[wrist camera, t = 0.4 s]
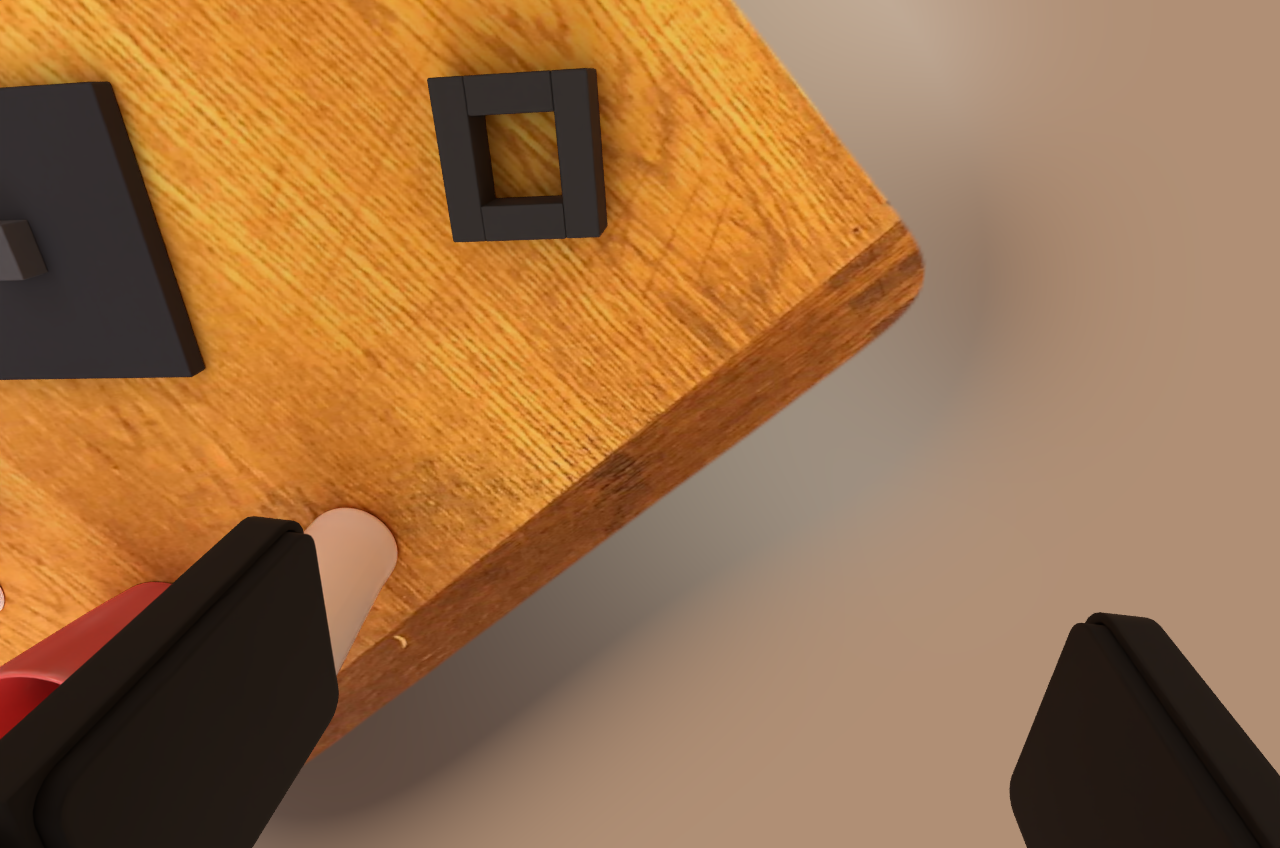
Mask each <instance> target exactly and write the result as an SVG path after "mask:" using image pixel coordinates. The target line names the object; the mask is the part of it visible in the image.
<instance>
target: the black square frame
mask: <svg viewBox="0 0 1280 848" xmlns="http://www.w3.org/2000/svg"><path fill="white" fill-rule="evenodd" d="M427 82H428V88H429V94H430V100H431V106H432V112H433V118H434V125H435V131H436V137H437V143H438V149H439V155H440V161H441V168H442V174H443V180H444V186H445V192H446V198H447V204H448V211H449V217H450V223H451V229H452V235H453V241H454V242H477V241H509V240H537V239H565V238H566V237H567V238H587V237H600V235H601V234H602V233H603V231H604V230H605V229H606V227H607V213H606V199H605V185H604V172H603V158H602V144H601V130H600V116H599V103H598V89H597V75H596V69H594V68H580V69H564V70H552V71H550V70H548V71H532V72H516V73H500V74H484V75H468V76H452V77H436V78H428V79H427ZM551 111H554V115H555V125H556V135H557V146H558V156H559V166H560V177H561V187H562V195H558V196H534V197H511V198H496V197H495V189H494V182H493V175H492V167H491V160H490V152H489V145H488V138H487V130H486V123H485V115H498V114H516V113H533V112H551Z"/></svg>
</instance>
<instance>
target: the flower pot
mask: <svg viewBox="0 0 1280 848" xmlns="http://www.w3.org/2000/svg"><path fill="white" fill-rule="evenodd" d="M170 585H171V584H170V583H163V582H148V583H142V584H139V585H136V586H133V587H131V588H129V589H128V590H126V591H124V592H122V593H121V594H119V595H117V596H115V597H114V598H112V599H110V600H108V601H106V602H105V603H103V604H101V605H100V606H98V607H96V608H94V609H93V610H91V611H89V612H88V613H86V614H84V615H83V616H81V617H79V618H78V619H76V620H75V621H73V622H71V623H70V624H68V625H67V626H65V627H63V628H62V629H60V630H59V631H57V632H55V633H54V634H52V635H51V636H49V637H47V638H46V639H44V640H43V641H41V642H39V643H38V644H36V645H34V646H33V647H31V648H30V649H28V650H26V651H25V652H23V653H22V654H20V655H18V656H17V657H15V658H13V659H12V660H10V661H9V662H7V663H5V664H4V665H2V666H1V667H0V739H1V738H2V737H3V736H4V735H6V734H7V733H8V732H9V731H10V730H11V729H12V728H13V727H14V726H16V725H17V724H18V723H19V722H20V721H21V720H22V719H23V718H24V717H25V716H27V715H28V714H29V713H30V712H31V711H32V710H33V709H34V708H35V707H37V706H38V705H39V704H40V703H41V702H42V701H43V700H44V699H45V698H46V697H48V696H49V695H50V694H51V693H52V692H53V691H54V690H55V689H56V688H58V687H59V686H60V685H61V684H62V683H63V682H64V681H65V680H66V679H67V678H69V677H70V676H71V675H72V674H73V673H74V672H75V671H76V670H77V669H79V668H80V667H81V666H82V665H83V664H84V663H85V662H86V661H87V660H88V659H90V658H91V657H92V656H93V655H94V654H95V653H96V652H97V651H98V650H100V649H101V648H102V647H103V646H104V645H105V644H106V643H107V642H108V641H110V640H111V639H112V638H113V637H114V636H115V635H116V634H117V633H118V632H119V631H121V630H122V629H123V628H124V627H125V626H126V625H127V624H128V623H129V622H131V621H132V620H133V619H134V618H135V617H136V616H137V615H138V614H139V613H140V612H142V611H143V610H144V609H145V608H146V607H147V606H148V605H149V604H150V603H152V602H153V601H154V600H155V599H156V598H157V597H158V596H159V595H160V594H161V593H163V592H164V591H165V590H166V589H167V588H168V587H169V586H170Z"/></svg>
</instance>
